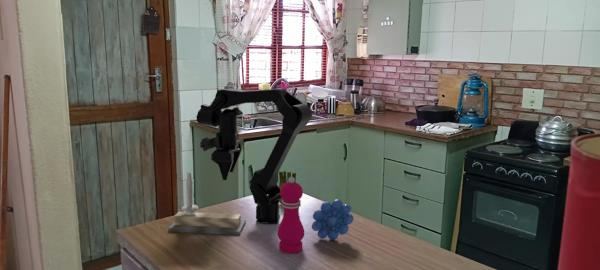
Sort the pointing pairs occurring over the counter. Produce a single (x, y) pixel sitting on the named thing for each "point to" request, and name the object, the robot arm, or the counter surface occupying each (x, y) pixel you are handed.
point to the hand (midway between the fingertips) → (228, 175)
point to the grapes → (332, 219)
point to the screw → (189, 198)
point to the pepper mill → (291, 218)
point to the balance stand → (208, 223)
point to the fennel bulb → (283, 179)
